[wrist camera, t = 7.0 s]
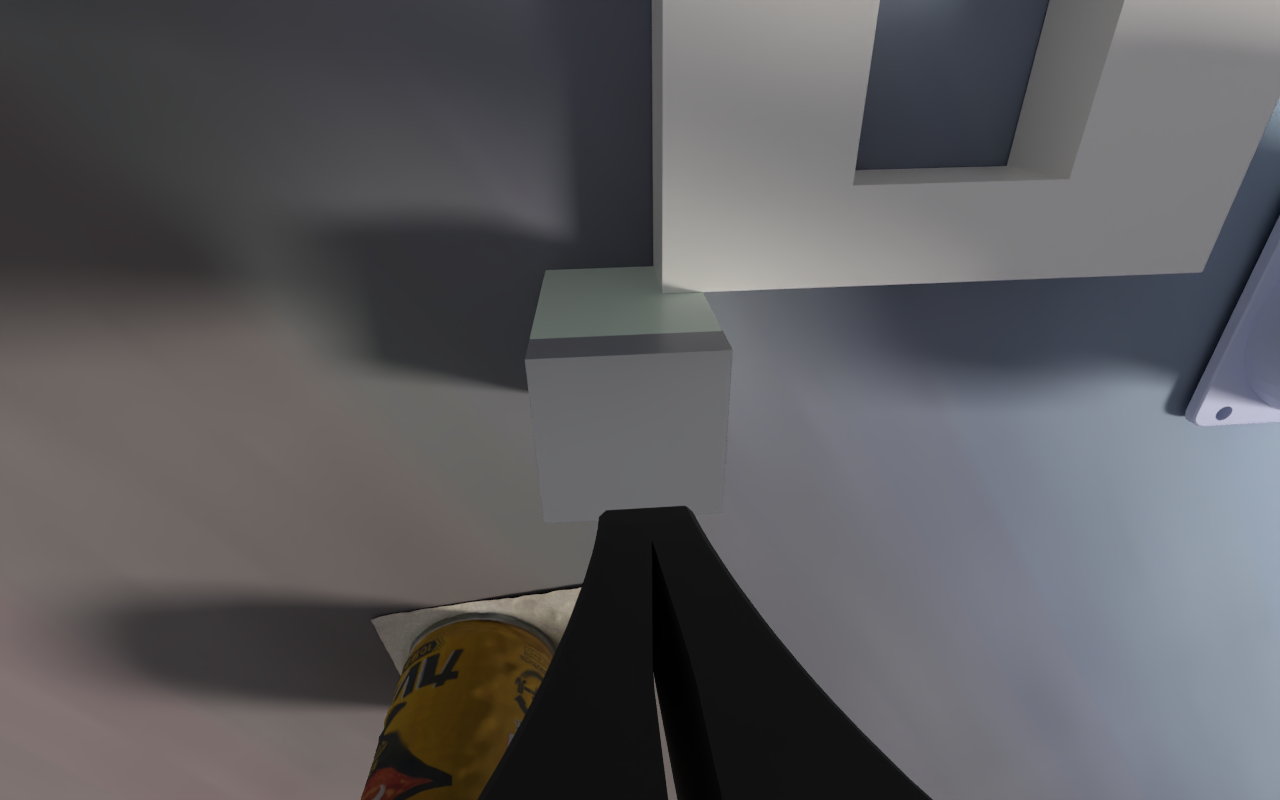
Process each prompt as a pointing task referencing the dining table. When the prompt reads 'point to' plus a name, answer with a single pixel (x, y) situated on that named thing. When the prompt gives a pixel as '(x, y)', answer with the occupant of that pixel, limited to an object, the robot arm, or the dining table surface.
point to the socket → (958, 196)
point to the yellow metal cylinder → (461, 691)
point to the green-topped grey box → (626, 395)
